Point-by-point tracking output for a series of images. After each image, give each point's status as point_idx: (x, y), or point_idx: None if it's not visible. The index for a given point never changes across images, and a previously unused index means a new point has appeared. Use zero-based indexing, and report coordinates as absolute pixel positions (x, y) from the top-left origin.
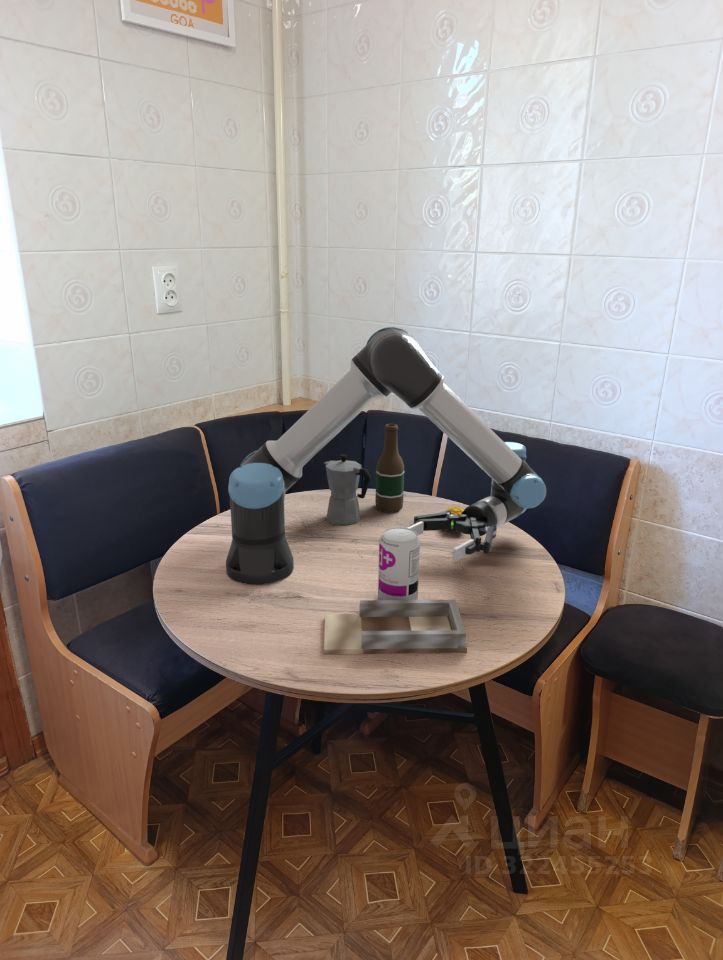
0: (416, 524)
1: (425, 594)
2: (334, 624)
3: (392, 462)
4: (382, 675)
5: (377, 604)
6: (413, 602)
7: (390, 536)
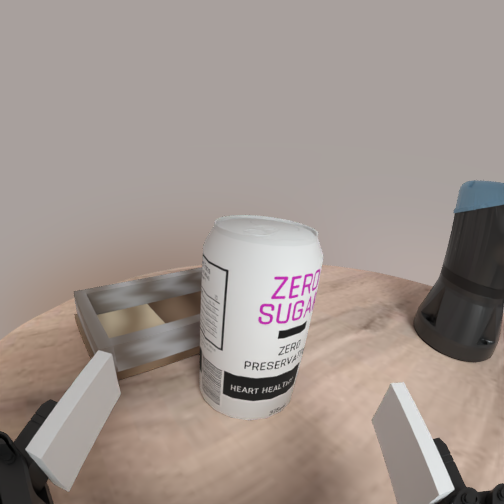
0: (428, 450)
1: (203, 436)
2: None
3: None
4: None
5: None
6: (176, 321)
7: (278, 224)
